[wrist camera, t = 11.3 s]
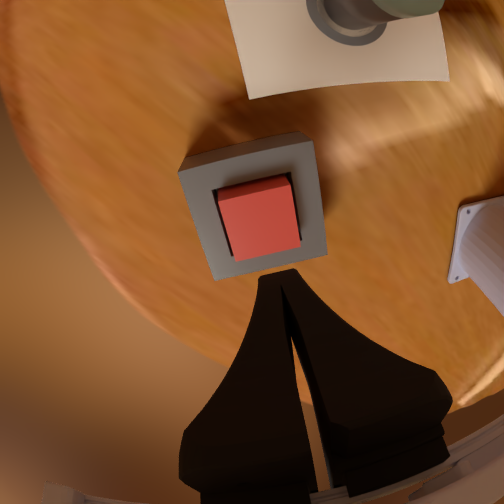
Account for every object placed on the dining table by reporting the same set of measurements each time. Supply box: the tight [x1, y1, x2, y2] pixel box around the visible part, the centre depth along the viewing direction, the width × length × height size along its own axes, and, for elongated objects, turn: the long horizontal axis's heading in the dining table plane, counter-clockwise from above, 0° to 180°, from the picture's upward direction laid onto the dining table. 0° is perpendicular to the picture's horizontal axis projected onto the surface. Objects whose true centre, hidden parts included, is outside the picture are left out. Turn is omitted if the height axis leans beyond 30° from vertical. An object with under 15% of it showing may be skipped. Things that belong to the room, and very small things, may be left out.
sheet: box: [224, 0, 450, 99], centre depth 13 cm, size 14×10×1 cm
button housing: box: [178, 131, 328, 281], centre depth 18 cm, size 7×7×3 cm
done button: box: [218, 173, 301, 262], centre depth 17 cm, size 4×4×2 cm
